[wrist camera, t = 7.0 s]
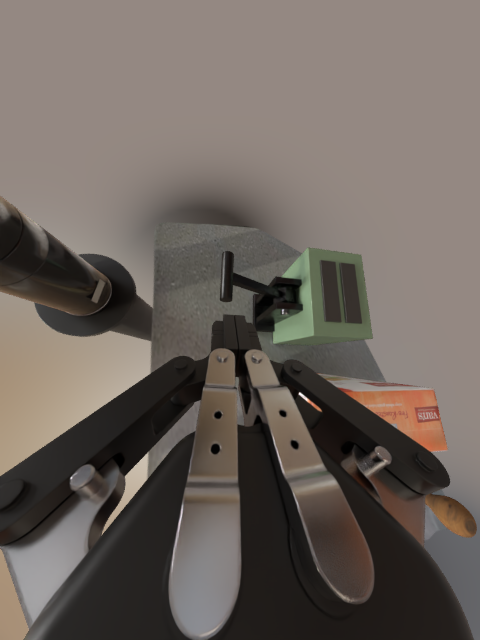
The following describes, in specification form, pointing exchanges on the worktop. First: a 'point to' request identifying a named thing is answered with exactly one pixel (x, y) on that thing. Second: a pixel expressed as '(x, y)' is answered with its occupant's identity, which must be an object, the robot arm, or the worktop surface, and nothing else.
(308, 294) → the toaster
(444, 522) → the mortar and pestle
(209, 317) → the worktop surface
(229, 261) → the toaster lever
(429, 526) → the worktop surface
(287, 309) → the lever bracket
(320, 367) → the worktop surface
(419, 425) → the cracker box
